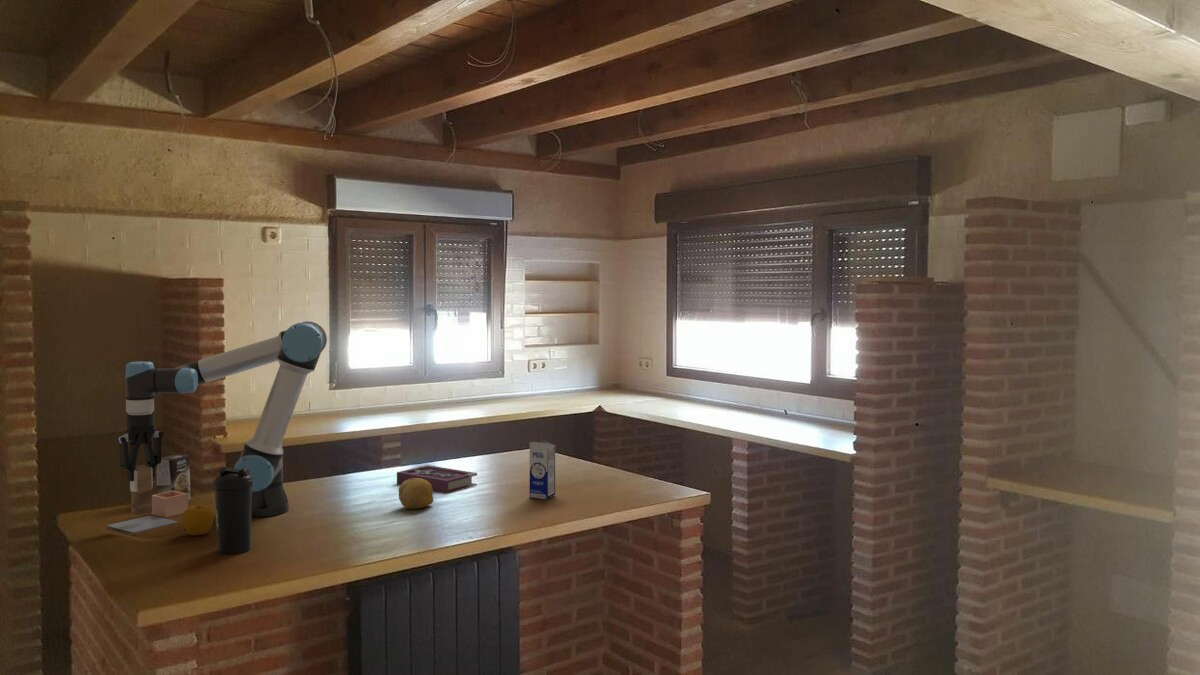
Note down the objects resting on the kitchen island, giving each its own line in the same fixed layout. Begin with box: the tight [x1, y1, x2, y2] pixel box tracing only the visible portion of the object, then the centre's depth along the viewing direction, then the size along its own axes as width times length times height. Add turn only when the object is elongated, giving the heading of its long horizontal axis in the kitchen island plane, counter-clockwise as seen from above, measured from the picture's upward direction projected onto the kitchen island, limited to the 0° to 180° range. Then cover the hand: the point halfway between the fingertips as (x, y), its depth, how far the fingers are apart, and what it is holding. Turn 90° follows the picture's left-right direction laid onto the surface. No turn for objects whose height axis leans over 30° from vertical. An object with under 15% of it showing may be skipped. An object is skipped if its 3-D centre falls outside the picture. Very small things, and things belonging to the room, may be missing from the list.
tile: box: [106, 514, 179, 537], centre depth 266 cm, size 14×14×1 cm
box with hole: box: [150, 491, 189, 519], centre depth 278 cm, size 8×8×7 cm
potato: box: [398, 478, 434, 510], centre depth 292 cm, size 10×12×10 cm
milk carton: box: [529, 439, 556, 500], centre depth 308 cm, size 7×7×20 cm
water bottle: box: [212, 466, 253, 556], centre depth 243 cm, size 10×10×23 cm
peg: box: [130, 464, 153, 516], centre depth 265 cm, size 4×4×14 cm
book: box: [396, 464, 478, 494], centre depth 326 cm, size 25×16×5 cm, turn 57°
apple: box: [181, 504, 215, 537], centre depth 258 cm, size 8×8×9 cm
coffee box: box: [155, 454, 191, 500], centre depth 293 cm, size 9×6×16 cm
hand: (141, 489), depth 265 cm, fingers closed on peg, 4 cm apart
